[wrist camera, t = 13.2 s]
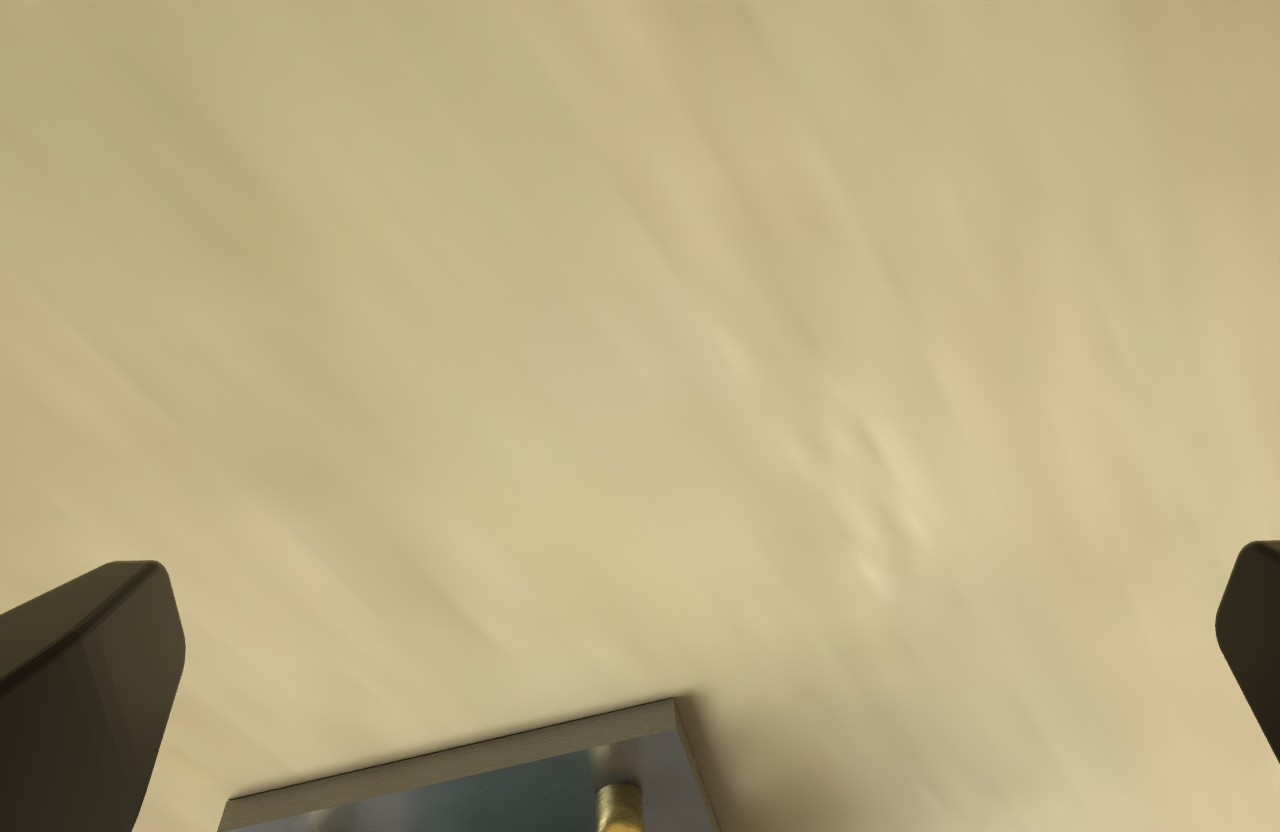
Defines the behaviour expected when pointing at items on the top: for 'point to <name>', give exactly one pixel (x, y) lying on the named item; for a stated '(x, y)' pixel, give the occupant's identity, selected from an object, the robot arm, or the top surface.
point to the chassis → (511, 785)
